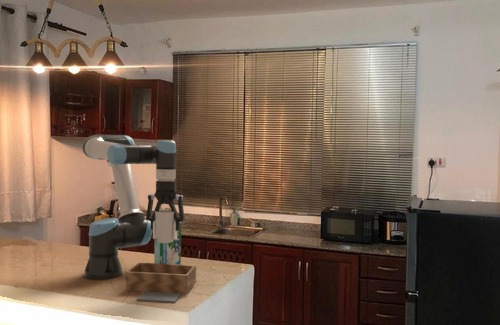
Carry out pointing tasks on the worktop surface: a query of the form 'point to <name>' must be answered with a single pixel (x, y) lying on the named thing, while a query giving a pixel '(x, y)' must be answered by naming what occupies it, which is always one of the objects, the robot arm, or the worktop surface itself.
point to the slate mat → (159, 297)
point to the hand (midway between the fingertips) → (165, 238)
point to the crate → (161, 278)
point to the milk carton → (168, 251)
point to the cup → (164, 225)
